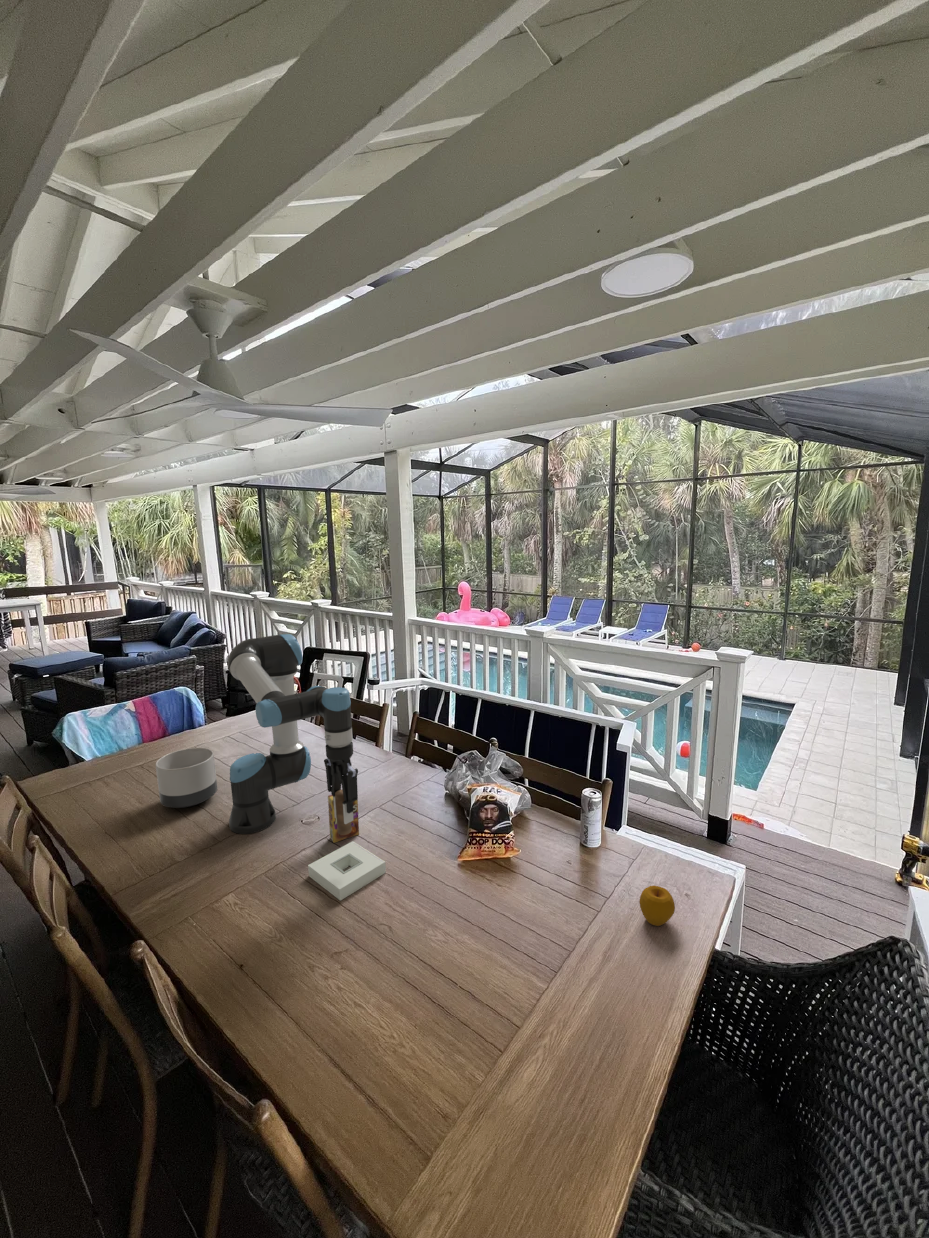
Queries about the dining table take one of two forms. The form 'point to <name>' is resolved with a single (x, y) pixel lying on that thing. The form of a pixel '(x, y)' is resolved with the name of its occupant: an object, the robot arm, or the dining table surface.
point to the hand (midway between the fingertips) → (344, 818)
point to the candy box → (333, 822)
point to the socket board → (351, 880)
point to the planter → (186, 777)
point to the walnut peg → (341, 814)
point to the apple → (657, 905)
